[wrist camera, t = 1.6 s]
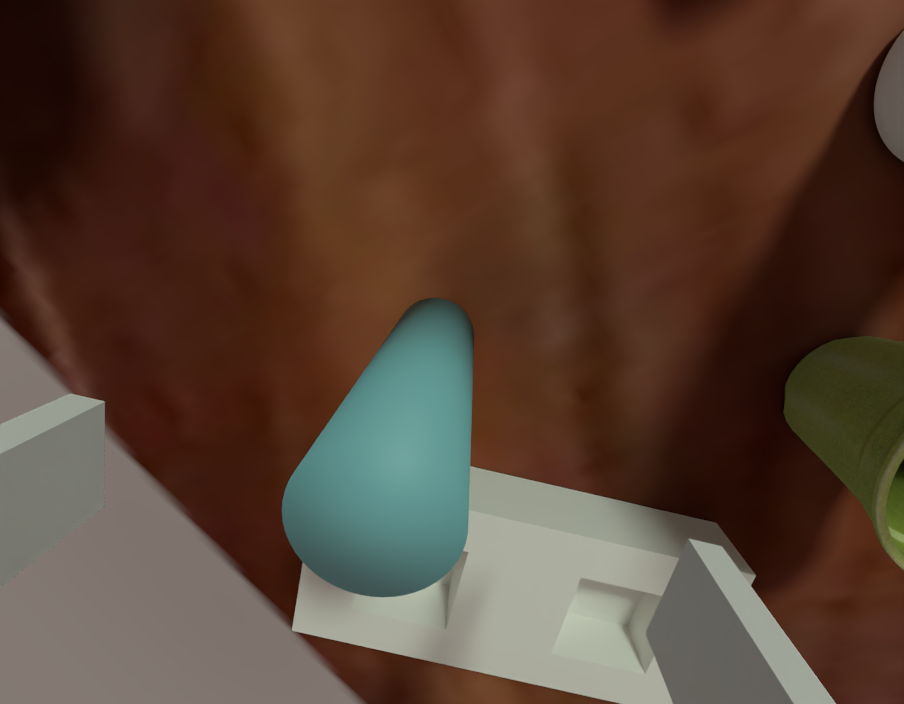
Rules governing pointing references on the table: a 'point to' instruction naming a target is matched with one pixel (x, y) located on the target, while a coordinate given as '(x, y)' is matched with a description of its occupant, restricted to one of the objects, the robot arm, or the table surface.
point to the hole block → (533, 592)
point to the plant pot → (857, 424)
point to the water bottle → (891, 99)
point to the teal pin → (392, 464)
